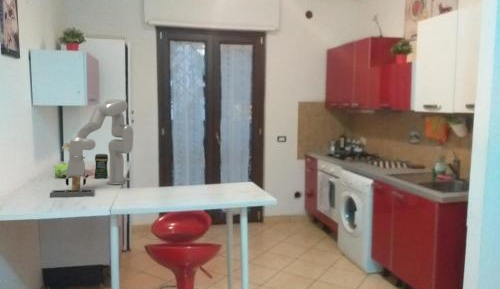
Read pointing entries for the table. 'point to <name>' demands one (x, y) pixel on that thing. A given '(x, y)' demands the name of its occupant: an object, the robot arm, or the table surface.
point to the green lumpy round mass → (60, 169)
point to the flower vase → (65, 147)
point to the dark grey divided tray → (72, 193)
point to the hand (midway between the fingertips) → (75, 185)
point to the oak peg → (75, 182)
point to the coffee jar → (101, 166)
